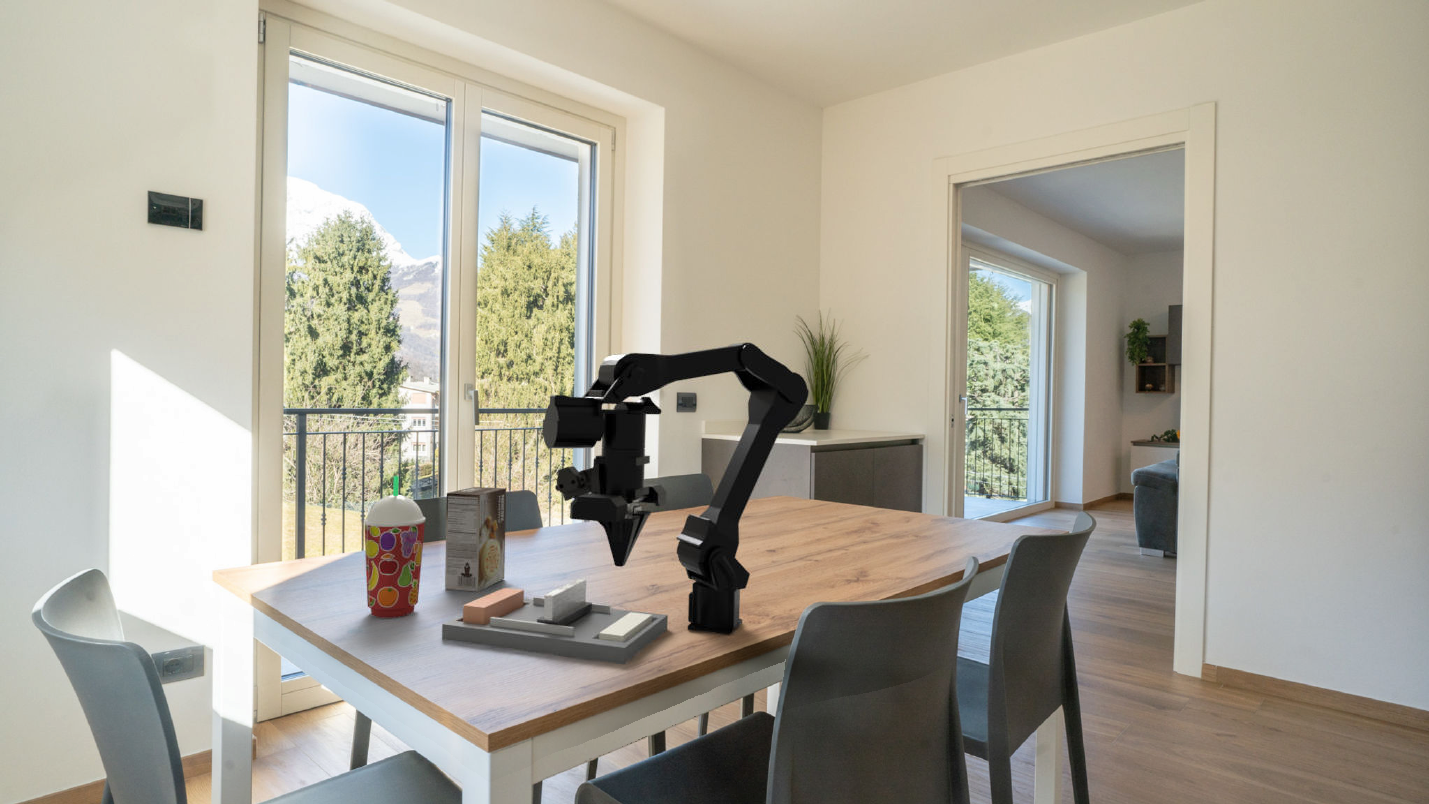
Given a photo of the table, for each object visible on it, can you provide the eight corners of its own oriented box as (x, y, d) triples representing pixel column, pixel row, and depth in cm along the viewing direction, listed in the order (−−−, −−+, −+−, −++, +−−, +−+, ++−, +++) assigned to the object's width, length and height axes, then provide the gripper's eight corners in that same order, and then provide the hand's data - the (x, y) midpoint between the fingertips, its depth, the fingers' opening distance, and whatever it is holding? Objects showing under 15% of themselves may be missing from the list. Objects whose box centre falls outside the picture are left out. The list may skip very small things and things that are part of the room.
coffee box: (471, 576, 134) (474, 486, 134) (505, 579, 133) (507, 487, 133) (443, 589, 125) (445, 492, 125) (478, 592, 124) (481, 494, 124)
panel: (667, 629, 107) (667, 607, 107) (624, 664, 92) (625, 639, 92) (504, 609, 114) (505, 589, 114) (442, 639, 100) (442, 616, 100)
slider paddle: (591, 609, 107) (592, 580, 107) (557, 629, 98) (558, 597, 98) (572, 607, 108) (573, 578, 108) (536, 627, 99) (537, 594, 99)
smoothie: (399, 602, 117) (402, 472, 117) (435, 611, 112) (438, 476, 112) (348, 614, 110) (352, 476, 110) (385, 624, 105) (389, 480, 105)
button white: (651, 632, 105) (651, 614, 105) (622, 655, 95) (622, 635, 95) (630, 630, 106) (630, 612, 106) (598, 652, 96) (599, 632, 96)
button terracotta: (523, 607, 110) (523, 590, 110) (483, 626, 101) (484, 607, 101) (504, 604, 111) (504, 587, 111) (462, 623, 102) (463, 605, 102)
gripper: (597, 442, 112) (594, 548, 112) (533, 449, 94) (529, 575, 94) (669, 445, 109) (665, 554, 109) (616, 453, 91) (612, 584, 91)
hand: (619, 565), depth 101 cm, fingers closed
